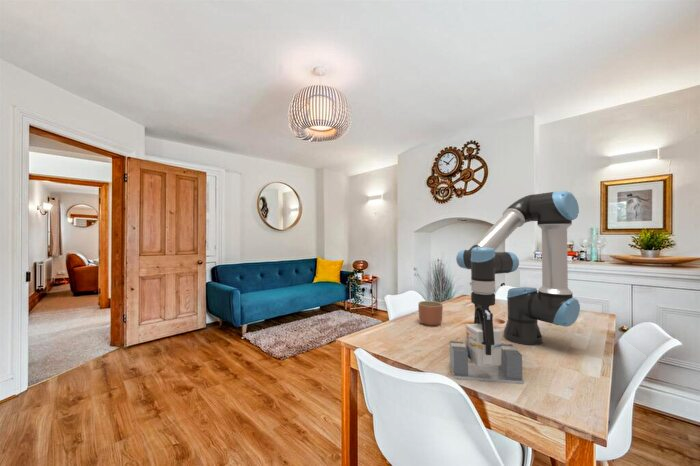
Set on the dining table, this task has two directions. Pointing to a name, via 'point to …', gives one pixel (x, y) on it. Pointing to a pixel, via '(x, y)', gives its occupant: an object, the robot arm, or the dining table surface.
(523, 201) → the robot arm
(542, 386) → the dining table surface
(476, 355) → the ink box
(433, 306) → the planter
